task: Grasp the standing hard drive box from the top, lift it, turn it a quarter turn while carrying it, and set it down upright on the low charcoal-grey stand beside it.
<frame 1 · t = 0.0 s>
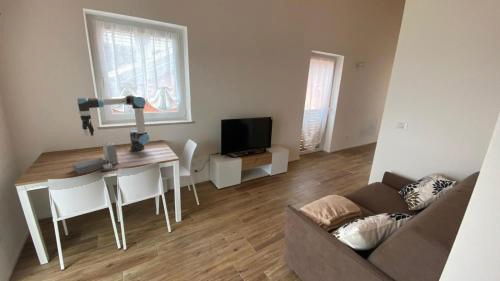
hand: (89, 137, 197), 28 cm above the table, tool pointing down, fingers open, 13 cm apart
hard drive box: (111, 162, 211), on the table
stand: (90, 168, 196), on the table
metal tin: (108, 169, 196), on the table
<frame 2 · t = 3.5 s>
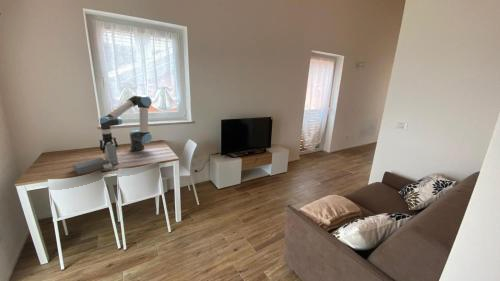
hand: (110, 154, 208), 8 cm above the table, tool pointing down, fingers closed on hard drive box, 8 cm apart
hard drive box: (111, 162, 211), on the table, touching gripper
everything else where it was.
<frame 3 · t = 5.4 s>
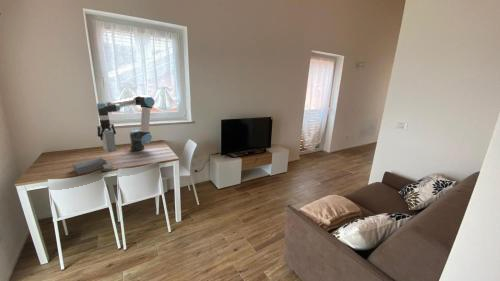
hand: (108, 142, 205), 22 cm above the table, tool pointing down, fingers closed on hard drive box, 8 cm apart
hard drive box: (109, 150, 207), point 13 cm above the table, touching gripper
everything else where it was.
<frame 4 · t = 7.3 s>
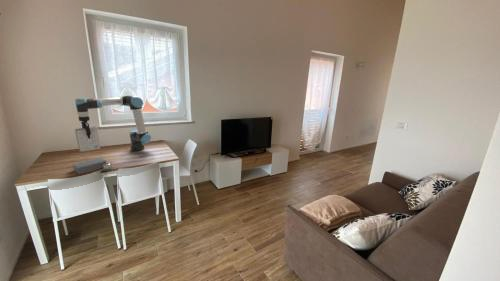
hand: (88, 140, 191), 27 cm above the table, tool pointing down, fingers closed on hard drive box, 8 cm apart
hard drive box: (89, 149, 193), point 18 cm above the table, touching gripper
everything else where it was.
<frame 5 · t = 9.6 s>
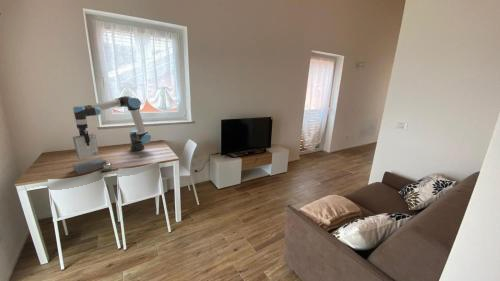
hand: (86, 148, 191), 20 cm above the table, tool pointing down, fingers closed on hard drive box, 8 cm apart
hard drive box: (88, 156, 193), point 12 cm above the table, touching gripper
everything else where it was.
when the fingers open (16 cm above the table, at t = 11.4 s): hard drive box drops 1 cm, point 6 cm above the table.
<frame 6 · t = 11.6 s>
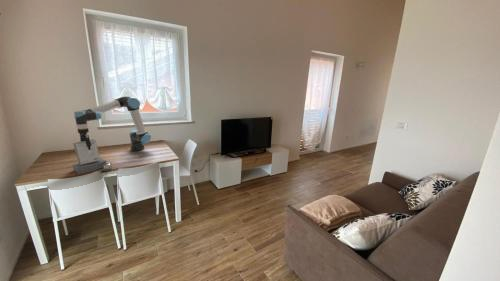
hand: (87, 151, 192), 17 cm above the table, tool pointing down, fingers open, 10 cm apart
hard drive box: (89, 162, 195), point 6 cm above the table, touching gripper
everything else where it was.
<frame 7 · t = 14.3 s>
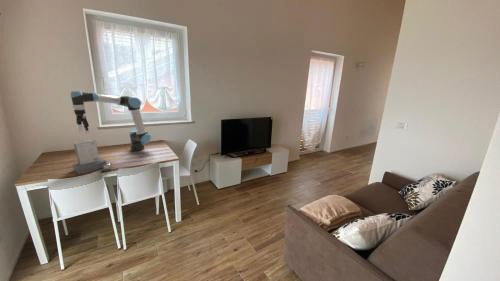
hand: (84, 132, 188), 34 cm above the table, tool pointing down, fingers open, 13 cm apart
hard drive box: (89, 162, 196), point 6 cm above the table, touching stand
everything else where it was.
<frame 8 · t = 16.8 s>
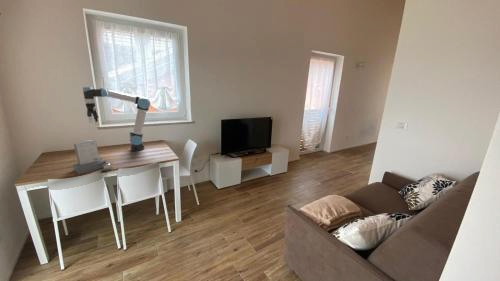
hand: (94, 123, 212), 37 cm above the table, tool pointing down, fingers open, 13 cm apart
nothing on the table moved.
at the end: hard drive box inside the target area on the stand (1.6 cm from its centre), point 5.8 cm above the stand's base; hard drive box tilted 0°; the gripper is holding nothing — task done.
